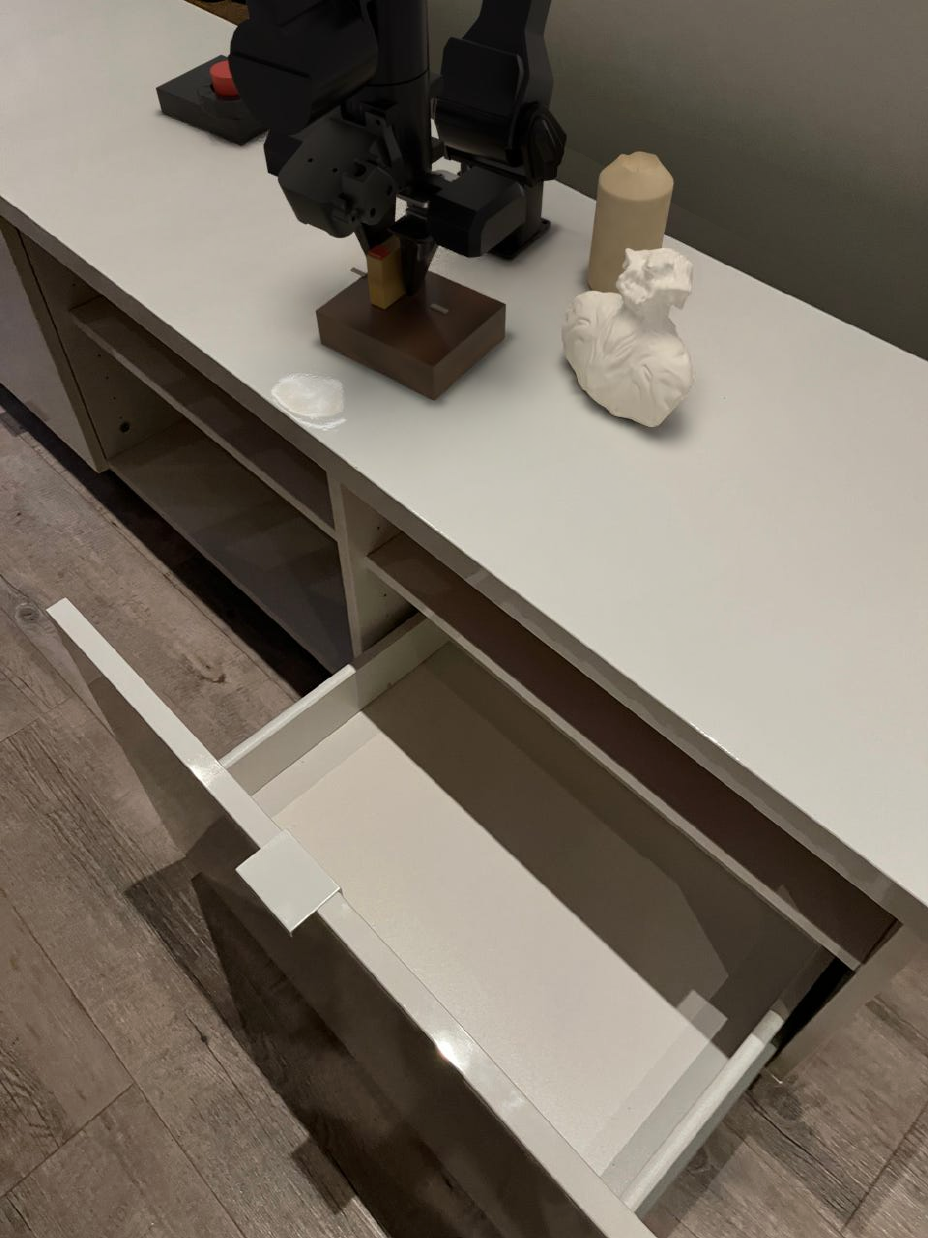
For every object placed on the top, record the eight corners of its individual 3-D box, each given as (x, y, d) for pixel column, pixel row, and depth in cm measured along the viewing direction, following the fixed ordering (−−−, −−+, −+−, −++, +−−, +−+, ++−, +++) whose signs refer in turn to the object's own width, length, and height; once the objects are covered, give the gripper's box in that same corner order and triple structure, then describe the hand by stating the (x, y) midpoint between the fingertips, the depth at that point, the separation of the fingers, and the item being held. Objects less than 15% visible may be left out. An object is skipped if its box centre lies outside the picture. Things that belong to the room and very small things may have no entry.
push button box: (310, 111, 92) (304, 68, 89) (241, 151, 88) (232, 107, 84) (226, 78, 96) (217, 36, 93) (156, 115, 92) (144, 72, 88)
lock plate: (505, 337, 71) (506, 301, 68) (434, 400, 67) (433, 365, 64) (383, 282, 75) (380, 246, 73) (309, 338, 71) (303, 303, 68)
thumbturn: (411, 271, 71) (408, 219, 68) (426, 277, 70) (424, 225, 67) (370, 303, 69) (365, 251, 65) (384, 310, 68) (380, 258, 65)
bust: (677, 455, 66) (779, 316, 62) (623, 441, 61) (730, 286, 56) (572, 367, 72) (657, 233, 67) (514, 346, 66) (602, 198, 62)
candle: (632, 310, 73) (652, 188, 65) (573, 285, 75) (587, 163, 67) (667, 277, 76) (691, 156, 67) (609, 254, 77) (626, 133, 69)
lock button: (260, 86, 87) (256, 66, 86) (233, 101, 86) (229, 81, 84) (233, 75, 89) (229, 56, 87) (205, 90, 87) (201, 70, 86)
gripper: (180, 71, 56) (233, 295, 69) (422, 166, 50) (431, 393, 62) (304, 9, 61) (331, 227, 74) (537, 87, 55) (524, 311, 68)
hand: (398, 287), depth 69 cm, fingers closed
